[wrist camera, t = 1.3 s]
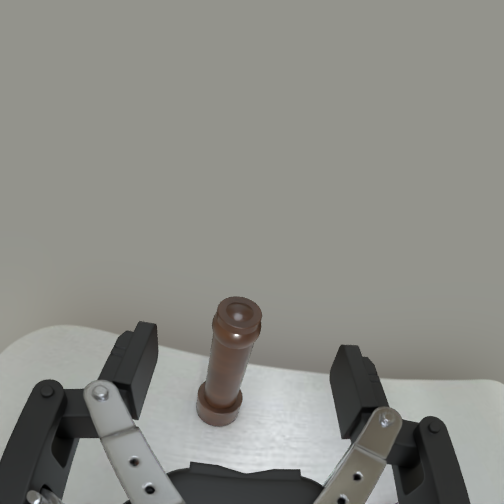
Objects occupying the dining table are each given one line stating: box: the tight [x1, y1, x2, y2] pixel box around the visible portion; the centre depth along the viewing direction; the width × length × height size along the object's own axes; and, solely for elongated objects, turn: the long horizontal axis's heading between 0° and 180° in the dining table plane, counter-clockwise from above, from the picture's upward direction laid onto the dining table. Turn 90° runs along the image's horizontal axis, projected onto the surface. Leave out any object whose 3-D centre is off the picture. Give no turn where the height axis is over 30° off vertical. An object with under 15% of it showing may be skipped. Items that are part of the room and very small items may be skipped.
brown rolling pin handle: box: [196, 297, 262, 426], centre depth 27 cm, size 4×4×15 cm
